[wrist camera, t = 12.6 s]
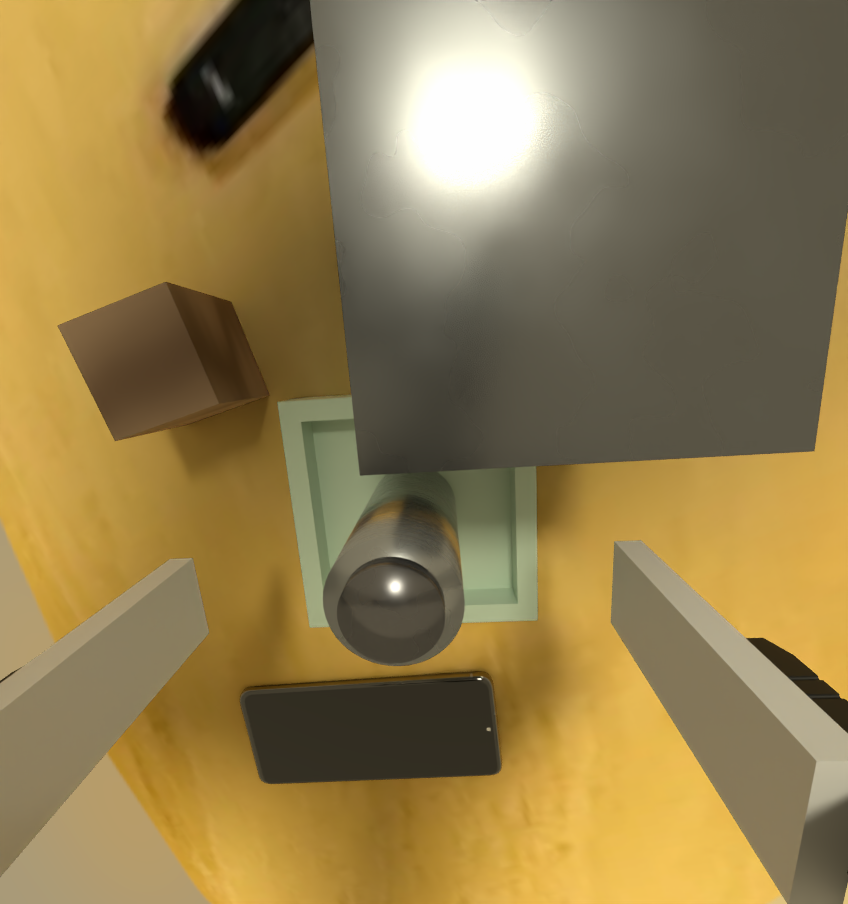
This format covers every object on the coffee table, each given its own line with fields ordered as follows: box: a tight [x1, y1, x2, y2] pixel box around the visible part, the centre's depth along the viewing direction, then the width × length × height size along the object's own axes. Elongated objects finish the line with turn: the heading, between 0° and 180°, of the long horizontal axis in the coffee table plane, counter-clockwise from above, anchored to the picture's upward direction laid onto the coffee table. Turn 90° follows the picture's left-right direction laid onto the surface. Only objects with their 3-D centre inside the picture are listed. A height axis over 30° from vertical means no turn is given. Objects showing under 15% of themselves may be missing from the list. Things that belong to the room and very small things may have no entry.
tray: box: [277, 394, 538, 628], centre depth 21 cm, size 12×12×2 cm
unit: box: [310, 0, 848, 476], centre depth 13 cm, size 12×10×13 cm
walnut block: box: [58, 282, 269, 441], centre depth 19 cm, size 5×5×5 cm
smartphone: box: [240, 671, 502, 784], centre depth 25 cm, size 7×1×16 cm
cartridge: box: [323, 472, 465, 666], centre depth 16 cm, size 4×4×10 cm
